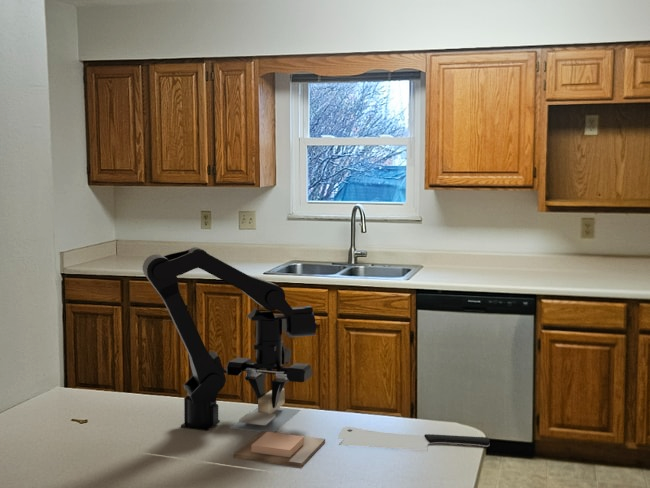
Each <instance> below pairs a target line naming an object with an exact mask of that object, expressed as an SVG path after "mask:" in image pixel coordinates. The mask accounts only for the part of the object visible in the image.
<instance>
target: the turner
mask: <svg viewBox="0 0 650 488" xmlns="http://www.w3.org/2000/svg"><path fill="white" fill-rule="evenodd" d="M285 389H286V388H284V387H283V389H282V391H281V394H280V397H279V400H278V403H277V405H276V407H275V408H273V406H272V389H271V390H269V391H268V392H266V393H265V395H264V396H262V397H261V398H259V399H258V398H257V408H258V412H252V411H253V410H252V411H249V412H248V413H245V415H243V416H242V417H241V418H239V420H238V422H242V423H250V424H257V425H266V424H267V423H269V422H270V421H271V420H272V419H274V418H275V417H276V414H271V413H273V412H274V411H275V410H276V409H278V408H279V407H280V408H281V407H282V406H283V405H284V404H285V397H286V396H285V394H286V393H285V391H286V390H285Z"/></svg>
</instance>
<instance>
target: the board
mask: <svg viewBox="0 0 650 488" xmlns="http://www.w3.org/2000/svg"><path fill="white" fill-rule="evenodd" d="M266 432H269V431H261V432H258V434H257V435H255V436H253V438H251V439H250V440H249V441H248V442H246V443H245V444H244V445H243V446H241V447H240V448H239V449H238V450H237V451H235V452H234V453H233V458H234V459H235V458H236V459H242V460H243V459H244V460H249V461H256V462H257V461H258V462H264V463H271V464H278V465H284V466H292V467H300V468H302V467H303V466H304V465H305V464H307V462H308V461H309V460H310V459H311V458H312V457H313V456H314V455H315V454H316V452H317V451H319V450H320V448H321V447H322V446H324V444H325V443H326V438H321V437H314V436H307V435H303V436H304V444H303V445H302V446H301V447H300V448H299V449H298V450H297V451H296V452H295V453H294V454H293V455H292V456H291V457H290V458H287V457H280V456H273V455H266V454H259V453H253V452H251V445H252V444H253V443H254V442H256V441H257V440H258V439H259V438H260V437H262V436H263V435H264V434H265V433H266ZM273 433H277V431H276V432H273ZM280 433H281V434H285V433H283V432H280ZM287 434H288V435H293V433H292V434H290V433H287ZM295 435H296V436H301V435H298V434H295Z"/></svg>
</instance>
